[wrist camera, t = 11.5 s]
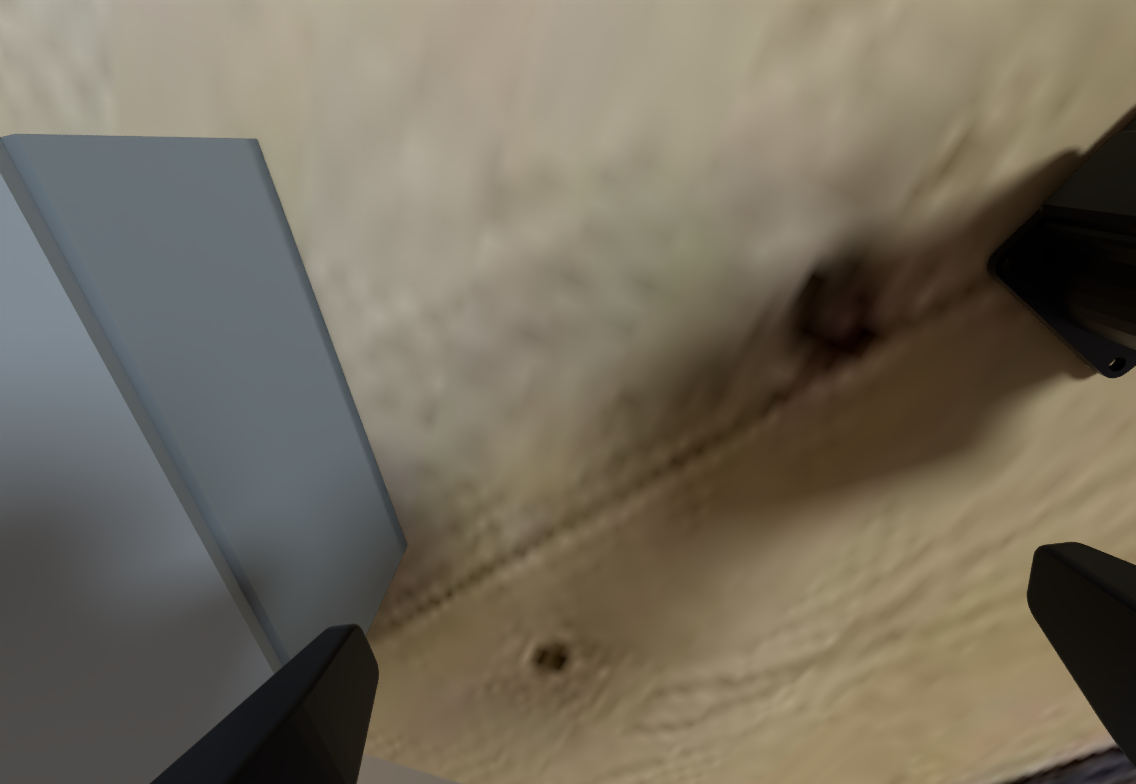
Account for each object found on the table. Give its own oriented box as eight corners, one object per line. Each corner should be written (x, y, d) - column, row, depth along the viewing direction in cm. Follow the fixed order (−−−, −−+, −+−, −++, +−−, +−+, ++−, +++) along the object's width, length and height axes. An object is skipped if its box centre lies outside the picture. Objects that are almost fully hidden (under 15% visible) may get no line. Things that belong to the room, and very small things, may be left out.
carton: (256, 139, 18) (16, 133, 10) (407, 546, 24) (324, 724, 16) (-20, 199, 19) (-417, 234, 11) (193, 573, 25) (26, 751, 18)
